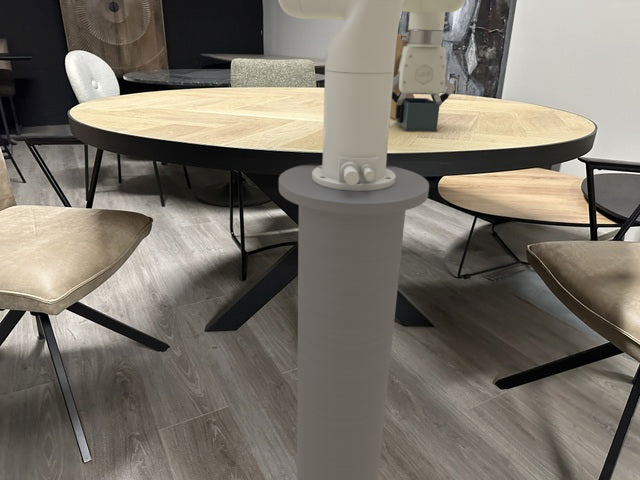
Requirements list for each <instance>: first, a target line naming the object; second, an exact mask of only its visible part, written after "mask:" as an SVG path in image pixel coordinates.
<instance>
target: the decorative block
mask: <svg viewBox="0 0 640 480" xmlns="http://www.w3.org/2000/svg"><path fill="white" fill-rule="evenodd" d="M401 34H402V33H398V34H397V41H396V51H395V62H394V75H393V78H395V77H396V76H397V75H398V71H399V65H400V60H401V55H402V51H403V48H404V46H407V43H406V41H404V40H401ZM392 89H393V91H394V92H395V93H396V95H397V96H398V94H399V93H400V91H399V90H398V89H397V84H396V85H395V86H393V88H392ZM406 98H415V94H408V95H407V96H406ZM395 115H396V103H395V101H394V100H393V99H391V111H390V119H393V120H395V121H397V119H396V118H395Z"/></svg>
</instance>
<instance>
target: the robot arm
mask: <svg viewBox="0 0 640 480" xmlns="http://www.w3.org/2000/svg"><path fill="white" fill-rule="evenodd" d="M277 1H278V4H279V6H280V8H281V9H282V11H283V12H284V13H286V14H287V16H290V17H293V18H295V19H296V18H297V19H304V20H305V19H306V20H338V21H343V23H342V25H341V27H340V28H339V30H338V31H337V32H336V34H335V35H334V37H333V38H332V40H331V42H330V43H329V45H328V47H327V50H326V53H325V58H324V59H325V60H324V89H323V91H324V92H323V94H324V95H323V124H322V125H323V128H322V129H323V130H322V132H323V133H322V161H321V162H322V166H319V167H317V168H315V169H314V170H313V171H312V180H313V181H314V182H315V183H317V184H319V185H321V186H324V187H327V188H331V189H336V190H344V191H375V190H381V189H385V188H388V187H390V186H392V185H393V184H394V183H395V178H396V175H395V173H394V172H392V171H391V170H389V169H387V168H386V165H387V160H388V148H389V147H388V145H389V136H390V135H389V134H390V125H391V124H390V123H391V117H390V111H391V99H393V100H394V101H395V103H396V115H395V118H396V119H397V120H396V122H397V121H398V122H399V123H402V122H403V113H404V105H403V101H404V100H405V98H406V96H407V95H408V94H413V95H427V96H428V95H430V97H431V100H432V101H434V102H436V103H438V104H440V106H439V108H440V107H441V106H442V105H443V103H444V102H445V101H447V100H448V98H449V97H450V96H451V95H452V94H453V93H454V92H455V90H456V86H454V85H453V83H452V82H450V81H449V79H448V78H446V71H447V69H446V68H447V54H446V53H447V51H446V47H444V46H442V44H443V36H444V29H445V27H444V26H445V20H446V13H453V12H457V11H458V10H460V9H461V8H462V7H463V6H464V4H465V2H466V0H277ZM402 12H404V13H409V14H408V15H409V17H408V27H407V31H406V32H404V33H400V34H401V40H404V41H406V43H407V46H404V48H403V51H402V55H401V60H400V65H399V71H398V75H397V76H396V77H395V78H393V75H394V62H395V51H396V41H397V34H399V27H400V22H401V15H402ZM396 84H397V89H398V90H399V91H400V93H399V94H398V96H397V95H396V93H395V92H394V91H393V89H392V88H393V86H395V85H396ZM445 88H446V89H445ZM444 90H445V91H444Z"/></svg>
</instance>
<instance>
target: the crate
mask: <svg viewBox="0 0 640 480" xmlns="http://www.w3.org/2000/svg"><path fill="white" fill-rule="evenodd" d="M403 105H404V113H403V122H402V123H399V122H398V121H397V120H396V124H397V125H398V126H399V127H400V128H401V129H402V130H404V131H405V132H429V133H430V132H431V133H432V132H435V133H436V132H438V121H439V115H440V107H441V106H440V104H438V103H436V102H434V101H433V100H432V99H430V98H428V97H414V98H405V100H404V101H403ZM439 106H440V107H439Z"/></svg>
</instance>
